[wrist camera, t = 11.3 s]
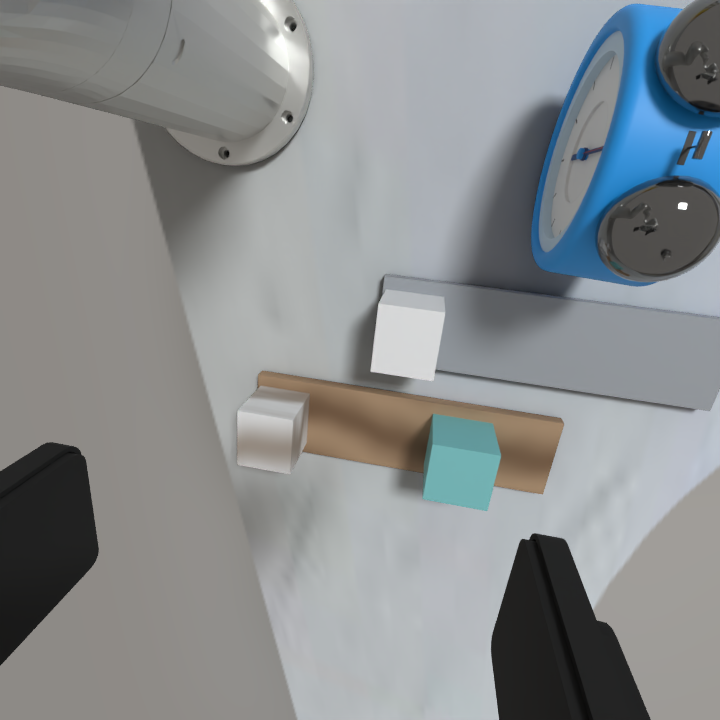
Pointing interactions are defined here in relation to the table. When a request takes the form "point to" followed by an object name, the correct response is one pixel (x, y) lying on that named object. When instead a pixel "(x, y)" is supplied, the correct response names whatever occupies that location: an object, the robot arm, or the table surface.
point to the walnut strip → (379, 429)
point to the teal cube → (460, 462)
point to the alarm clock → (636, 152)
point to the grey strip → (547, 341)
